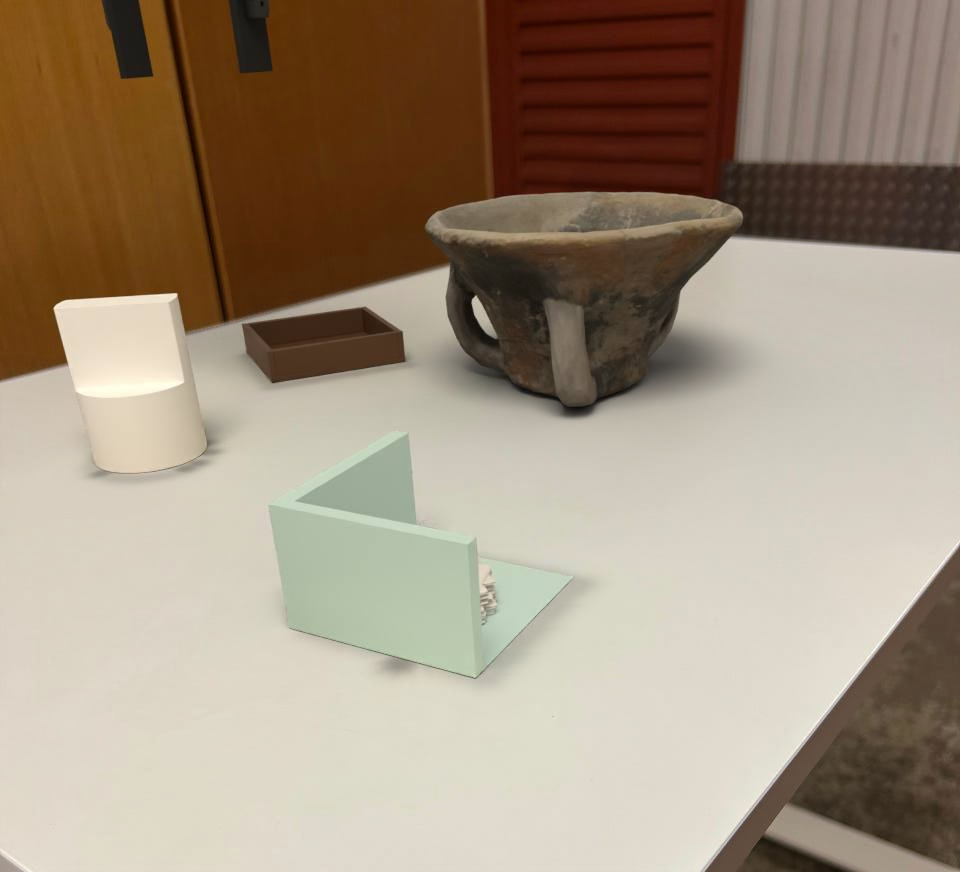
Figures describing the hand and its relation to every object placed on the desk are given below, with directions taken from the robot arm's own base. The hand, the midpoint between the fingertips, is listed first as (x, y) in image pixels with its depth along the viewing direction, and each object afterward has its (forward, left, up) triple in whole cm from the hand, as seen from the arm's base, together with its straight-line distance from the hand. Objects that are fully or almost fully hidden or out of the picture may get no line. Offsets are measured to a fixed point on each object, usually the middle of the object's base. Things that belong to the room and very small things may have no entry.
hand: (194, 75), depth 77 cm
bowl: (+24, +19, -26) cm, 41 cm away
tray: (-4, +15, -26) cm, 30 cm away
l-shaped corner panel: (+36, -23, -26) cm, 50 cm away
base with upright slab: (+1, -13, -26) cm, 29 cm away
